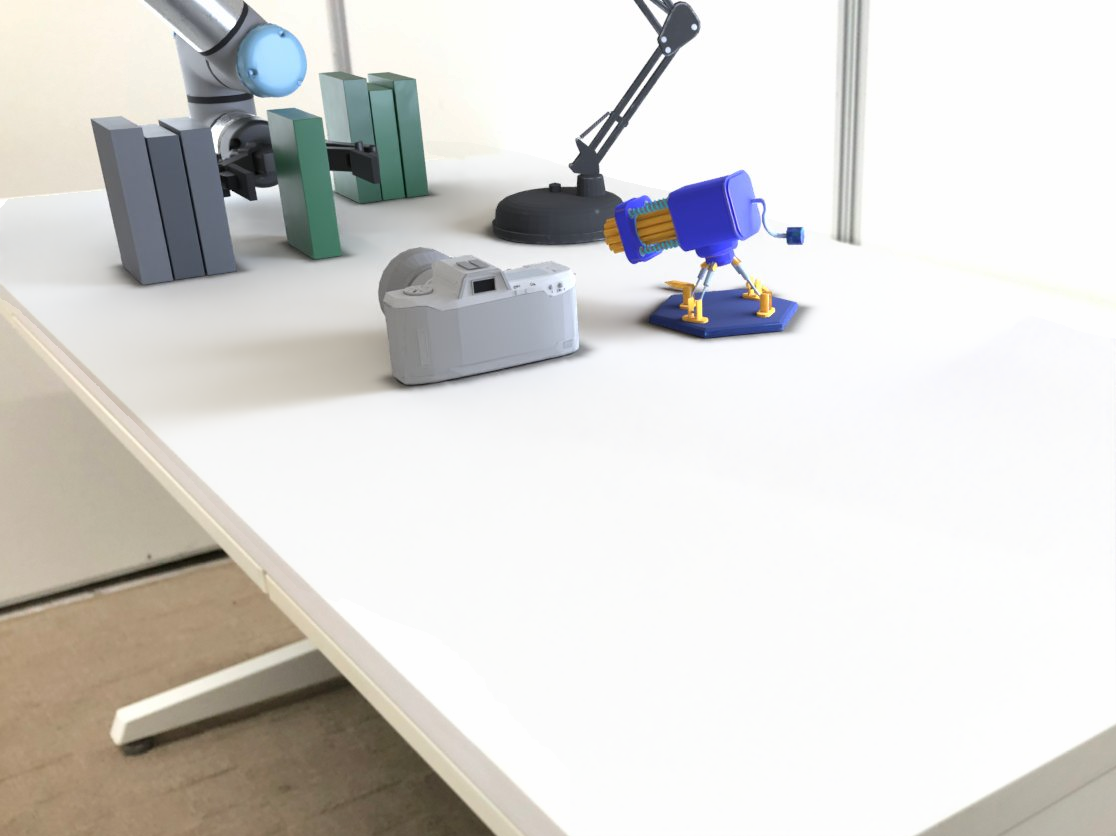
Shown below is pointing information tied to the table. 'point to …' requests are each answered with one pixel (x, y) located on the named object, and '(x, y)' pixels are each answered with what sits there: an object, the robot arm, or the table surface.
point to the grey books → (165, 198)
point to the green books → (377, 132)
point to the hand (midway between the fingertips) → (315, 178)
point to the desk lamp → (592, 156)
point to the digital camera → (473, 315)
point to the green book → (304, 182)
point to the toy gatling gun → (704, 254)
